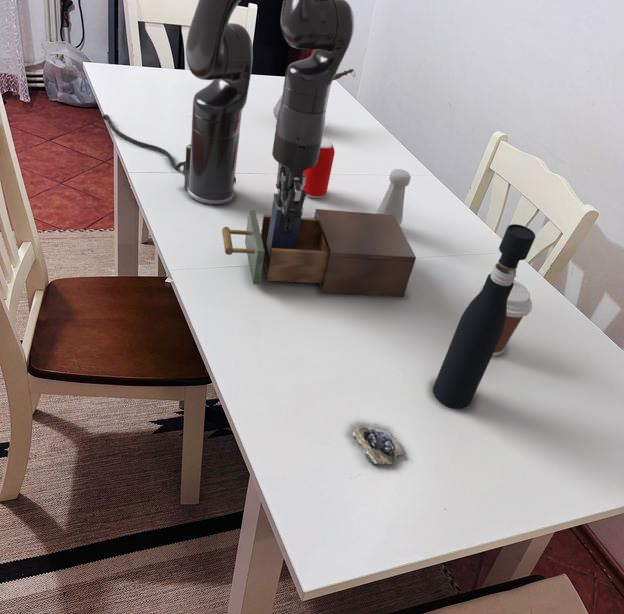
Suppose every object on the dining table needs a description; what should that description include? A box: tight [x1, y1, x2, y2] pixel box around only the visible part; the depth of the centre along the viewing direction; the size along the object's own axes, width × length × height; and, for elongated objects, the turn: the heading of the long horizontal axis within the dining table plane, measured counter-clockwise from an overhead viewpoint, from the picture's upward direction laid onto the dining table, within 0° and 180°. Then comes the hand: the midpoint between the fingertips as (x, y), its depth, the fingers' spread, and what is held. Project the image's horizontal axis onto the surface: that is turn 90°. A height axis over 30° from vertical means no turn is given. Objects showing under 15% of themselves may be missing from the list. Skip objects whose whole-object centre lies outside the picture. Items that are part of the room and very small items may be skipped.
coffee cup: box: [479, 279, 533, 356], centre depth 113 cm, size 9×9×12 cm
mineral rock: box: [352, 425, 405, 466], centre depth 92 cm, size 7×8×2 cm
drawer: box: [221, 209, 329, 286], centre depth 118 cm, size 20×14×7 cm
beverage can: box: [303, 137, 336, 199], centre depth 143 cm, size 6×6×12 cm
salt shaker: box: [375, 168, 412, 226], centre depth 138 cm, size 6×6×13 cm
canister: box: [266, 193, 304, 258], centre depth 116 cm, size 4×4×10 cm
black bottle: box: [432, 223, 536, 410], centre depth 95 cm, size 6×6×30 cm
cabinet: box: [313, 208, 417, 298], centre depth 123 cm, size 16×15×9 cm
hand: (283, 224), depth 116 cm, fingers closed on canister, 4 cm apart
